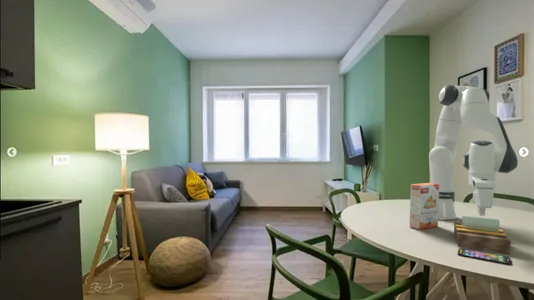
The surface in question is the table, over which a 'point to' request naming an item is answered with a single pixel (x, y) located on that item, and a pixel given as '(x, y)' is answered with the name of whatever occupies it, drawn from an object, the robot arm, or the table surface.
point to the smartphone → (484, 256)
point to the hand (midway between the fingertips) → (481, 215)
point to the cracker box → (424, 205)
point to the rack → (481, 239)
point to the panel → (480, 224)
